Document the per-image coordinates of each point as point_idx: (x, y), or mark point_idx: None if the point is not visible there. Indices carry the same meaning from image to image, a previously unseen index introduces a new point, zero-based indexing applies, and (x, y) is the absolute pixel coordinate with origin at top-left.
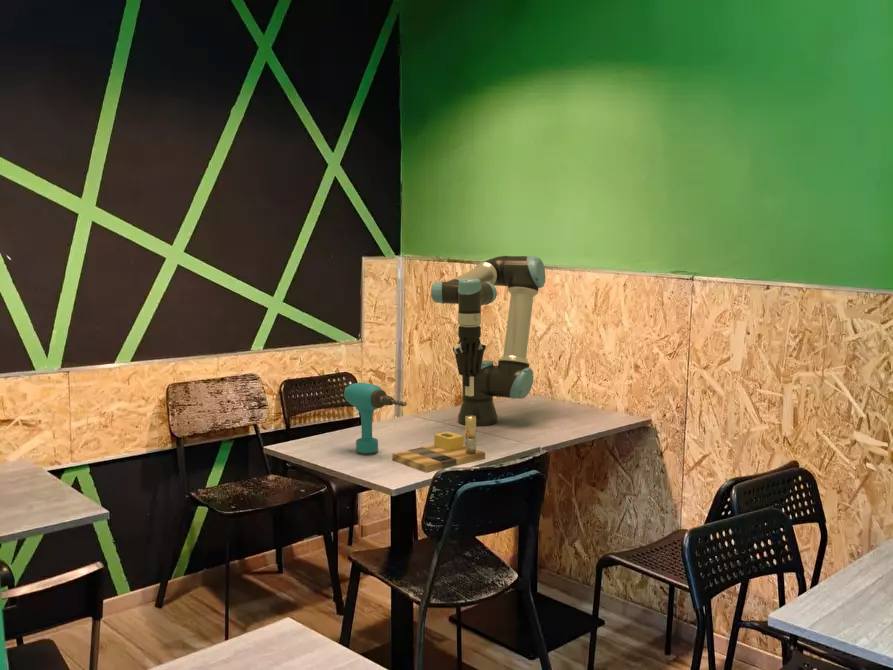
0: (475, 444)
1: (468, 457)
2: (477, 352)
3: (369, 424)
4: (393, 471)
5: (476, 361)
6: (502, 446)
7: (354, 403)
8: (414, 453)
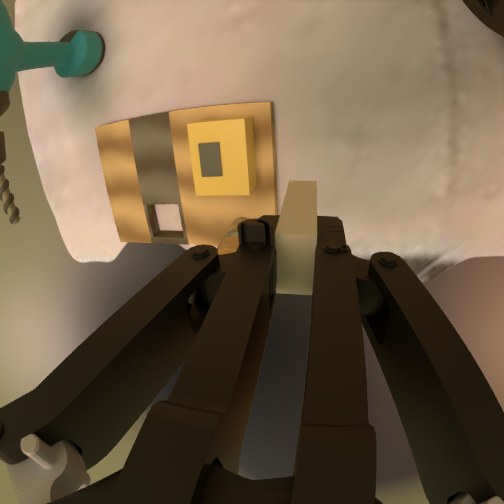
0: None
1: None
2: (453, 459)
3: (38, 67)
4: (85, 195)
5: (405, 364)
6: (389, 194)
7: None
8: (130, 153)
